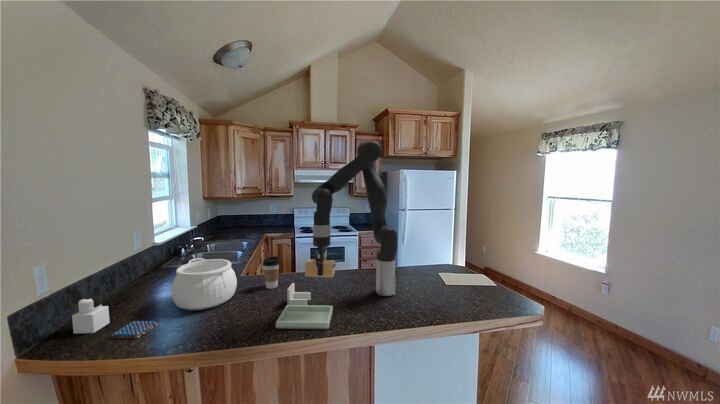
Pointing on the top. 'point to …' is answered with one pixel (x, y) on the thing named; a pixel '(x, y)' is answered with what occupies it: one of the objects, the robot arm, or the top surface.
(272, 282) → the coffee cup
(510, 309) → the top surface
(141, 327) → the woven mat
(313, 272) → the box with top handle
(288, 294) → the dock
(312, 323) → the tray
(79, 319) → the white knobbed block
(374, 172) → the robot arm
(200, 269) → the pot
